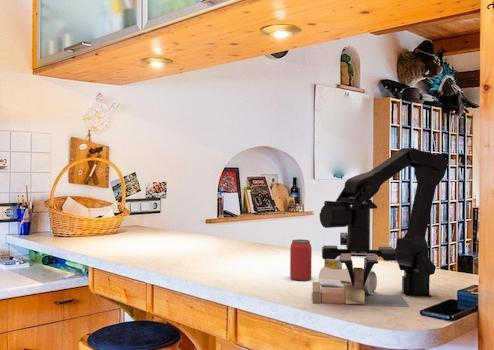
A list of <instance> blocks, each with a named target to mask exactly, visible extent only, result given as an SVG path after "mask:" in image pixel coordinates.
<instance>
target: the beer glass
mask: <svg viewBox="0 0 494 350" xmlns="http://www.w3.org/2000/svg"><path fill="white" fill-rule="evenodd" d="M353 273H354V267H353ZM377 278H378V276H377V274H376V272H375V271H374V270H371V271H370V273H369V275H368V278H367V280H366V283H365V286H363V290H364V292H365V294H368V295H372V294H375V292H376V290H377V286H378V279H377ZM318 282H320V288H321V287H328V288H343V284H352V282H351V279H350V276H349V272H348V269H347V268H342V269H331V268H328V267H324V266H323V267H321V269H320V270H319V273H318Z"/></svg>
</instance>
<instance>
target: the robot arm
mask: <svg viewBox="0 0 494 350" xmlns="http://www.w3.org/2000/svg"><path fill="white" fill-rule="evenodd" d="M448 165H449V162H448V160H447V158H446V156H445V155H443V153H433V152H432V153H431V152H427V151H424V150H420V149H418V148H415V147H402V148H400V149H399V150H398V152H396V153H395V154H393V155H391V156H390V157H389V158H387V159H386V160H384V161H383V162H381V163H380V164H379V165H376V166H375V167H374V168H373V169H371V170H369V171H367V172H364V173H360V174H357V175H354V176H352V177H350V178H348V179H346V181H345V183H344V187H343V189H342V190H341V192H340V194H339V195H338V197H337V198H336V200H334V201H333V200H325V201H324V205H323V206H322V207H321V209H320V212H319V222H320V224H321V226H322V227H323V228H325V229H333V228H346V227H347V232H340V235H339V238H340V239H339V244H340V246H346V247H345V248H339V247H338V245H323V246H322V247H321V259H322V260H324V259H336V258H337V257H338V256H340V262H341V263H342V264H345V267H346V269H348V272H349V276H350V279H351V282H352V286H354V273H353V268H354V266H353V265H354V264H353V260H352V257H364V258H363V260H364V261H363V286H365V283H366V280H367V278H368V275H369V273H370V271H372V269H373V267H374V265H378V264H379V260H378V259H379V258H382V259H383V261H387V262H388V261H389V262H390V261H391V262H394V261H395V262H396V263H398V267H399V270H400V271H403V275H402V277H401V291H402V292H403V294H404V295H405V296H406V297H418V298H419V297H422V298H425V297H427V298H431V297H432V294H431V293H430V280H431V279H430V276H431V275H432V276H433V275H435V272H436V268H437V266H436V265H435V264H434V263H433V261H432V260H431V259H430V258H429V246H428V241H427V239H426V235H427V229H428V227H429V226H428V225H429V221H430V216H431V212H432V207H433V202H434V197H435V193H436V189H437V186H438V185H439V184H440V183H441V182H442V180H443V179H444V178H445V174H446V172H447V169H448ZM407 167H411V168H413V169H414V172H413V173H414V176H415V180H416V182H417V183H416V189H415V194H414V199H413V203H412V207H411V212H410V216H409V220H408V226H407V230H406V233H405V235H404V236H403V237H398V238H397V239H396V245H395V249H394V248H393V246H378V249H370V248H371V246H370V245H371V235H370V234H371V210H372V209H374V210H375V209H378V205H376V203H374V202H373V200H372V198H373V197H375V196H376V194H377V193H378V192H379V191H380V188H381V187H382V185H383V184H385V183H386V182H387V181H389V180H390V179H391V178H392V177H394V176H395V175H397V174H398V173H400V172H401V171H403V170H404V169H406V168H407Z"/></svg>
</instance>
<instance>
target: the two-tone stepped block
mask: <svg viewBox="0 0 494 350" xmlns="http://www.w3.org/2000/svg"><path fill="white" fill-rule="evenodd" d="M353 268H354V286H352V284H343V288H344V290H345V302H346V304H364V294H365V292H364V290H363V269H364V267H354V266H353Z"/></svg>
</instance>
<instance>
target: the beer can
mask: <svg viewBox="0 0 494 350" xmlns="http://www.w3.org/2000/svg"><path fill="white" fill-rule="evenodd" d="M289 249H290V251H289V253H290V254H289V255H290V256H289V257H290V259H289V260H290V261H289V262H290V263H289V269H290V270H289V272H290V273H289V275H290V276H289V277H290V278H291V280H294V281H298V282H299V281H301V282H303V281H310V280H311V279H312V245H311V242H310V240H309V239H300V238H299V239H293V240H291V244H290V248H289Z"/></svg>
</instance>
